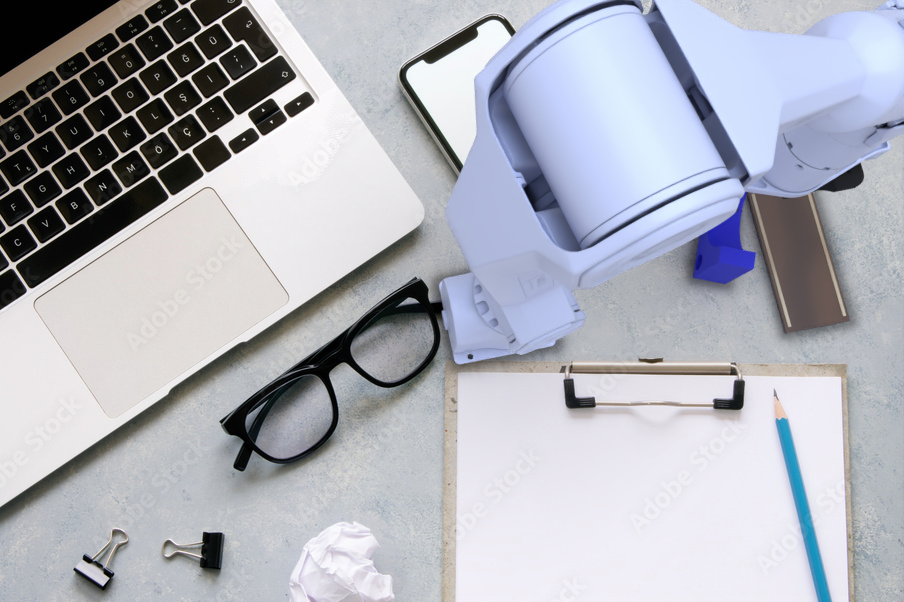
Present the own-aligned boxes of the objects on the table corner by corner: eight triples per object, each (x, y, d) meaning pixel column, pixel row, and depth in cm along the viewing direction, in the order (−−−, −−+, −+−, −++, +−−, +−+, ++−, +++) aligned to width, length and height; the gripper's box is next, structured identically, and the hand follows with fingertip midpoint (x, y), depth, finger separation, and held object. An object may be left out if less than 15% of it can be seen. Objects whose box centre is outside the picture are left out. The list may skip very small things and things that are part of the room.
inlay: (785, 333, 69) (787, 332, 69) (745, 190, 71) (747, 189, 71) (848, 320, 69) (850, 320, 69) (806, 178, 72) (809, 177, 71)
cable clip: (695, 154, 72) (721, 128, 66) (742, 163, 72) (772, 138, 66) (676, 274, 70) (701, 258, 64) (724, 284, 70) (753, 269, 64)
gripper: (911, 56, 52) (809, 136, 65) (706, 96, 52) (646, 168, 65) (941, 152, 51) (831, 213, 64) (732, 193, 51) (666, 245, 64)
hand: (739, 195), depth 65 cm, fingers open, 7 cm apart
